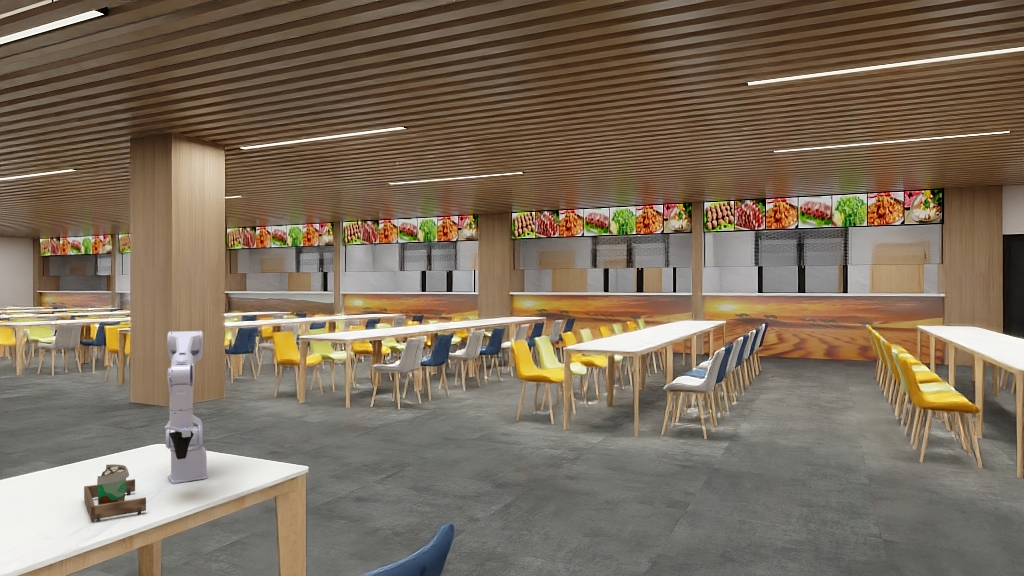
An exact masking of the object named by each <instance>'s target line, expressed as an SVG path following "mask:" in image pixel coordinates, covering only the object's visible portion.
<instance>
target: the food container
mask: <svg viewBox="0 0 1024 576" xmlns="http://www.w3.org/2000/svg"><path fill="white" fill-rule="evenodd" d="M129 477H130V472H129V469H128V468H127V466H126V465H124V464H118V463H117V464H116V463H115V464H114V463H113V464H112V463H111V464H106V465H105V470H103V472H102V473H101V475H97V479H96V480H97V482H96V485H98V497H97V505H101V504H107V503H114V502H120V501H126V500H125V498H126V497H125V496H126V493H125V487H126V480H127V478H129Z"/></svg>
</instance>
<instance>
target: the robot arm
mask: <svg viewBox="0 0 1024 576" xmlns="http://www.w3.org/2000/svg"><path fill="white" fill-rule="evenodd" d="M166 339H167V340H166V342H167V343H166V345H167V349H166V350H167V352H168V357H169V360H170V361H171V362H170V367H168V368H167V377H166V378H167V385H168V394H169V420H168V422H167V423H166V425H165V426H164V430H165V447H166V448H167V449H169V450H170V475H167V479H168V480H169V481H170V483H172V484H179V483H185V482H191V481H198V480H204V479H207V478H208V476H207V474H208V473H207V469H208V468H207V466H208V465H207V462H208V461H207V459H208V458H207V457H208V456H207V450H206V448H205V446H202V445H203V438H204V437H203V432H204V431H203V430H204V429H203V421H202V420H201V418H199V417H198V416H196V415H195V414H193V413H194V412H193V411H194V408H193V407H194V403H193V402H194V396H193V395H194V385H195V375H196V374H195V372H196V371H195V365H196V362H198V361H200V360H202V358H203V356H204V332H203V331H202V330H192V331H191V330H188V331H184V330H183V331H172V330H171V331H170V330H169V332H167V338H166Z"/></svg>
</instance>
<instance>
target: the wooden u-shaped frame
mask: <svg viewBox="0 0 1024 576" xmlns="http://www.w3.org/2000/svg"><path fill="white" fill-rule="evenodd" d="M134 492H136V479H135V478H134V479H126V487H125V494H127V495H131V493H134ZM94 498H98V485H97V484H92V485H91V484H90V485H85V486H83V500H84V503H85V505H86V508H87V511H88V514H89V516H90V520H91V521H93V520H96V522H100V521H101V519H105V518H112V517H116V516H117V517H118V516H123V515H127V514H128V515H129V514H134V513H135V514H136V513H137V514H138V515H139V514H142V512H146V511H147V497H140V498H134V499H128V500H124V501H120V502H114V503H107V504H101V505H98V504H96V505H95V503H94ZM99 520H100V521H99Z"/></svg>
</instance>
